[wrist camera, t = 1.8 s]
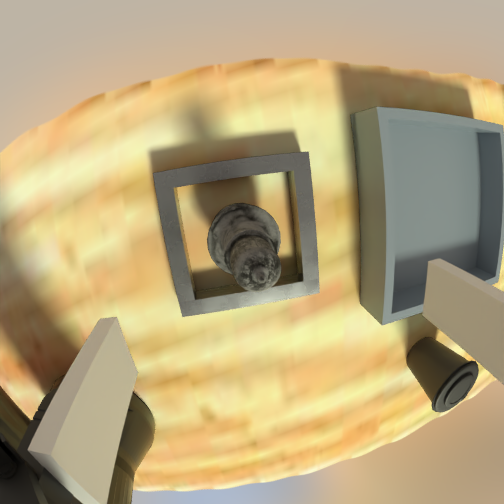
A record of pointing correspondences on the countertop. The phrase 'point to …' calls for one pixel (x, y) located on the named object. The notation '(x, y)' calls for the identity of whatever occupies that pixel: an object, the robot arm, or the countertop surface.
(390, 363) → the countertop surface
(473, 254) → the bin
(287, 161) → the collar
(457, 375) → the coffee cup
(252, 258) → the dark grey tall piece
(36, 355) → the countertop surface
